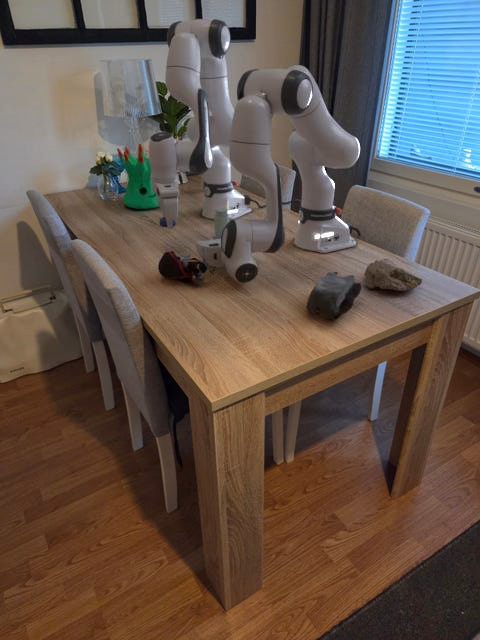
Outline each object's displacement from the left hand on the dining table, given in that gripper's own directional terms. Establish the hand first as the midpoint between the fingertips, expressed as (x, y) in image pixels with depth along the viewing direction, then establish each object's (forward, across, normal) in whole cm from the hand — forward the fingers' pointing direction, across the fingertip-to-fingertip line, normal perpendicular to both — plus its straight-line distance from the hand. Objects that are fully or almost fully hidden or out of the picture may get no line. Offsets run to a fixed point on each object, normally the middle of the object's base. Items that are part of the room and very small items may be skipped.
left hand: (168, 225), depth 156 cm
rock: (+9, +56, +36) cm, 68 cm away
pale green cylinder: (+8, +11, +17) cm, 22 cm away
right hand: (+3, +10, +16) cm, 20 cm away
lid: (-2, 0, 0) cm, 2 cm away
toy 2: (+9, +28, -1) cm, 29 cm away
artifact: (+8, +48, +58) cm, 76 cm away
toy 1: (+8, -54, -1) cm, 55 cm away
